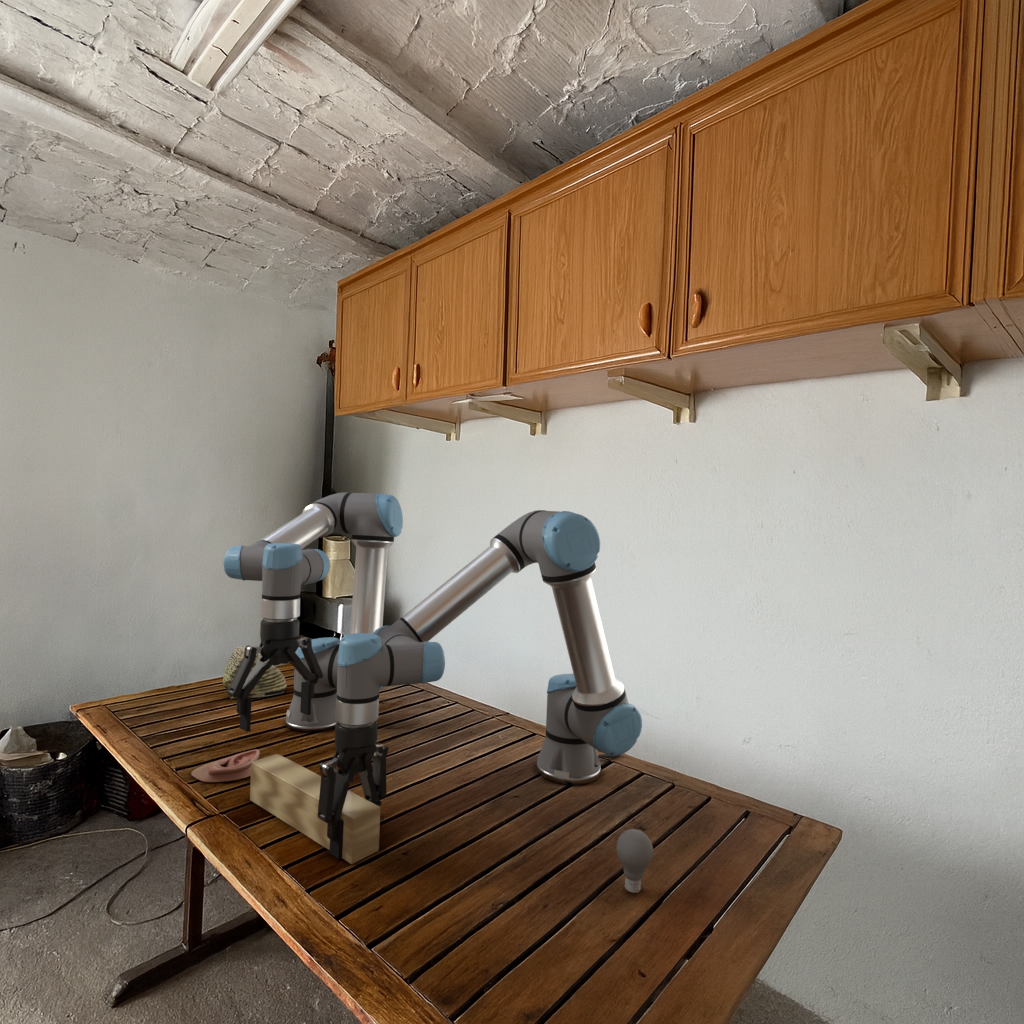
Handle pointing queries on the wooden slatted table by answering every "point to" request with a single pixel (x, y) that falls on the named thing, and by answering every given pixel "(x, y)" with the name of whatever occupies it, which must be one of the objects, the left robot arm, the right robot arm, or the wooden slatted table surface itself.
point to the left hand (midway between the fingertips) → (276, 721)
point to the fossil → (266, 685)
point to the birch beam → (313, 806)
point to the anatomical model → (227, 768)
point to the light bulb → (634, 857)
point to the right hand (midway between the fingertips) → (351, 847)
